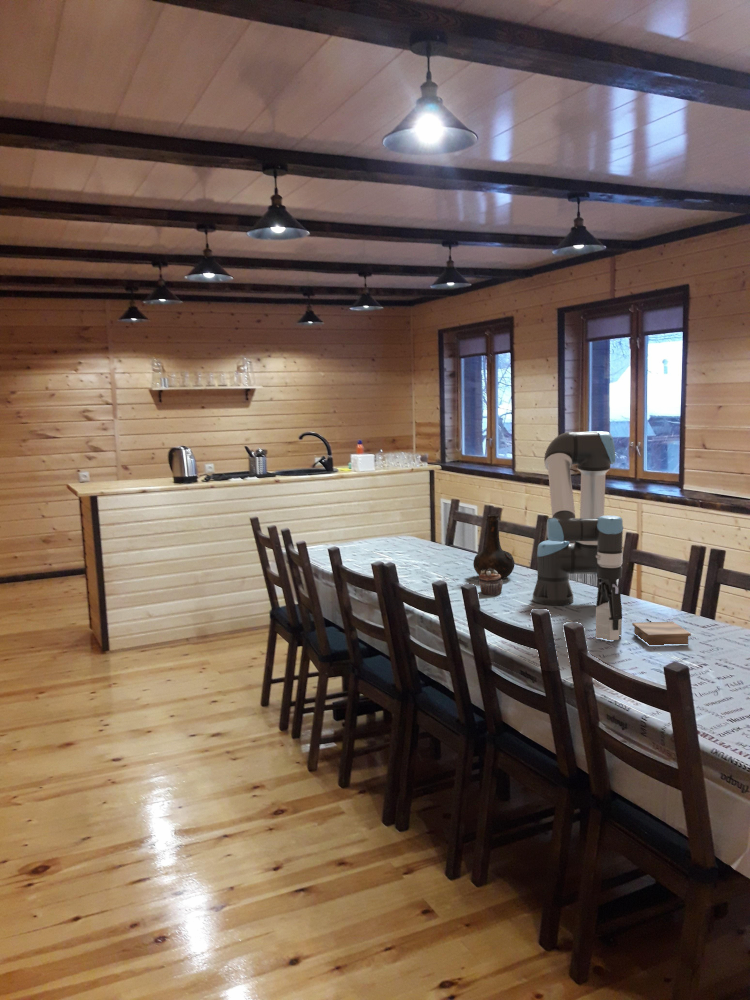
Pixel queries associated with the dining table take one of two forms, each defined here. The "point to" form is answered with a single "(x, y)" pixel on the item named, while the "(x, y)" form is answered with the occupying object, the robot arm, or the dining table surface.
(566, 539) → the robot arm
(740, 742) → the dining table surface
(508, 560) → the glass bottle
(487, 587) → the cupcake
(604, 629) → the small box
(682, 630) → the stand
